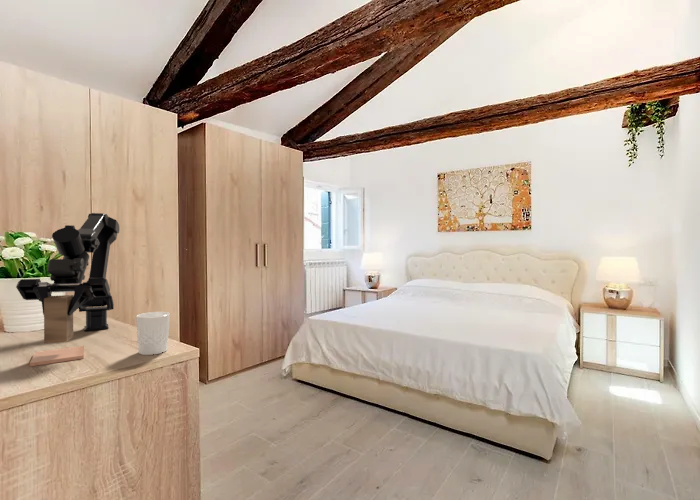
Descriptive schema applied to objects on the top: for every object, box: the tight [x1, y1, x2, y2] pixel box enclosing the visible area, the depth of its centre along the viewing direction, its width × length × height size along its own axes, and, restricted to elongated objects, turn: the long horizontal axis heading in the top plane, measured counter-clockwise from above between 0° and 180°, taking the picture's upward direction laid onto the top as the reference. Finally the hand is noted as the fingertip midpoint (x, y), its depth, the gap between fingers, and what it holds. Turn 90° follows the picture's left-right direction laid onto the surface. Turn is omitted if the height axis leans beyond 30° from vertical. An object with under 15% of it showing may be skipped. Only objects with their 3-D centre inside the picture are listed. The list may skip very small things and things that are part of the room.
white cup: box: [135, 311, 171, 356], centre depth 94 cm, size 8×8×10 cm
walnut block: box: [43, 294, 74, 344], centre depth 89 cm, size 4×4×11 cm
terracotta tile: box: [29, 345, 85, 367], centre depth 89 cm, size 10×10×1 cm
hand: (56, 315), depth 88 cm, fingers closed on walnut block, 4 cm apart
